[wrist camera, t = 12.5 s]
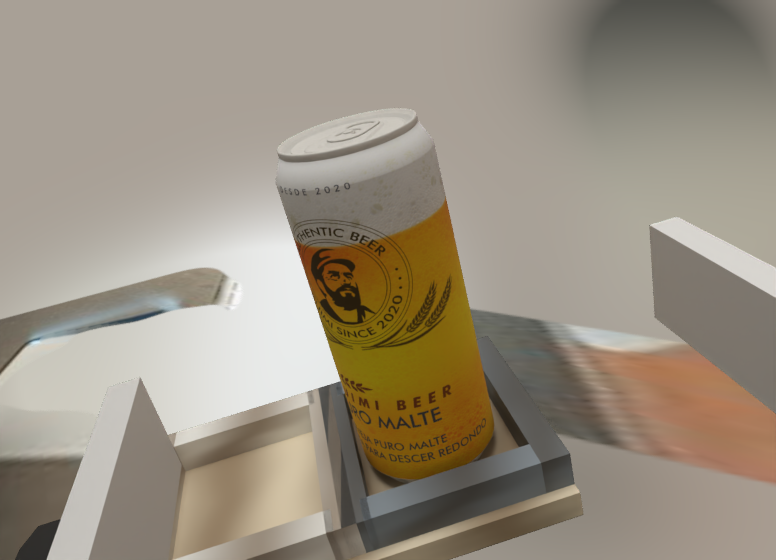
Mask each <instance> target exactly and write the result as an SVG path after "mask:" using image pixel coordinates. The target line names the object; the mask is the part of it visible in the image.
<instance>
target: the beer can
mask: <svg viewBox="0 0 776 560" xmlns="http://www.w3.org/2000/svg"><path fill="white" fill-rule="evenodd" d="M277 153H278V156H279V161H278V169H277V177H276V185H277V188H278V191H279V194H280V197H281V200H282V203H283V206H284V210H285V213H286V215H287V219H288V222H289V225H290V228H291V231H292V234H293V237H294V240H295V243H296V246H297V249H298V252H299V255H300V258H301V261H302V264H303V267H304V270H305V273H306V276H307V279H308V283H309V286H310V288H311V291H312V295H313V297H314V301H315V304H316V307H317V309H318V313H319V316H320V319H321V322H322V325H323V328H324V331H325V334H326V337H327V340H328V343H329V347H330V350H331V352H332V356H333V359H334V362H335V365H336V368H337V370H338V374H339V377H340V380H341V383H342V386H343V389H344V392H345V395H346V398H347V401H348V404H349V407H350V411H351V414H352V417H353V420H354V423H355V426H356V429H357V432H358V435H359V438H360V441H361V444H362V447H363V450H364V453H365V456H366V458H367V460H368V462H369V463H370V464H371V465H372V466H373V467H374V468H375V469H376V470H378V471H379V472H381V473H383V474H385V475H387V476H390V477H391V478H393V479H395V480H397V481H399V482H402V483H405V484H408V483H411V482H414V481H417V480H420V479H423V478H426V477H430V476H433V475H436V474H439V473H442V472H445V471H448V470H451V469H454V468H457V467H460V466H463V465H466V464H470V463H473V462H476V461H477V460H478V459H479V458H480V456H481V455H482V453H483V451H484V449H485V448H486V447H487V445H488V444H489V442H490V440H491V438H492V436H493V432H494V418H493V414H492V409H491V404H490V400H489V395H488V391H487V386H486V381H485V377H484V372H483V367H482V363H481V358H480V353H479V349H478V344H477V340H476V335H475V330H474V326H473V321H472V316H471V312H470V307H469V303H468V298H467V294H466V289H465V284H464V279H463V275H462V270H461V266H460V261H459V256H458V252H457V247H456V243H455V238H454V233H453V228H452V224H451V219H450V215H449V210H448V206H447V201H446V196H445V192H444V187H443V182H442V178H441V173H440V168H439V164H438V159H437V154H436V150H435V145H434V141H433V139H432V138H431V136H430V135H429V134H428V132H427V131H426V130H425V129H424V127H423V126H422V125H421V123H420V122H419V121H418V119H417V114H416V112H415V111H413V110H410V109H403V108H401V109H400V108H395V109H383V110H376V111H370V112H365V113H361V114H356V115H352V116H347V117H344V118H340V119H337V120H333V121H330V122H327V123H324V124H321V125H318V126H315V127H312V128H310V129H307V130H305V131H303V132H301V133H298V134H296V135H294V136H292V137H290V138H289V139H287V140H286V141H284V142H283V143H282V144H280V145H279V147H278V148H277Z"/></svg>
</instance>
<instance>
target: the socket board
mask: <svg viewBox="0 0 776 560" xmlns="http://www.w3.org/2000/svg"><path fill="white" fill-rule="evenodd" d="M476 340H477V344H478V349H479V353H480V358H481V363H482V367H483V372H484V377H485V381H486V386H487V391H488V395H489V400H490V404H491V409H492V414H493V418H494V432H493V436H492V438H491V440H490V442H489V444H488V445H487V447H486V448H485V449H484V451H483V453H482V455H481V456H480V458H479V459H478V460H477V461H476V462H473V463H470V464H466V465H463V466H460V467H457V468H454V469H451V470H448V471H445V472H442V473H439V474H436V475H433V476H430V477H426V478H423V479H420V480H417V481H414V482H411V483H408V484H405V483H402V482H399V481H397V480H395V479H393V478H391V477H390V476H387V475H385V474H383V473H381V472H379V471H378V470H376V469H375V468H374V467H373V466H372V465H371V464H370V463H369V462H368V460H367V458H366V456H365V453H364V450H363V447H362V444H361V441H360V438H359V435H358V432H357V429H356V426H355V423H354V420H353V417H352V414H351V411H350V407H349V404H348V401H347V398H346V395H345V392H344V389H343V386H342V383H341V381H340V382H337V383H334V384H331V385H327V386H324V387H321V388H318V389H314V390H311V391H308V392H305V393H302V394H299V395H295V396H292V397H289V398H286V399H282V400H279V401H276V402H273V403H269V404H266V405H263V406H260V407H257V408H253V409H250V410H247V411H244V412H240V413H237V414H234V415H231V416H228V417H224V418H221V419H218V420H215V421H212V422H208V423H205V424H202V425H199V426H195V427H192V428H189V429H186V430H183V431H179V432H176V433H173V434H170V435H168V437H169V439H170V441H171V443H172V445H173V447H174V450H175V452H176V454H177V456H178V458H179V460H180V462H181V464H182V466H181V473H180V480H179V487H178V494H177V501H176V508H175V515H174V522H173V529H172V536H171V543H170V550H169V557H168V560H450V559H453V558H456V557H459V556H462V555H465V554H468V553H471V552H474V551H477V550H480V549H483V548H486V547H489V546H492V545H495V544H498V543H500V542H503V541H507V540H510V539H512V538H515V537H519V536H521V535H524V534H527V533H530V532H533V531H536V530H539V529H542V528H545V527H548V526H551V525H554V524H557V523H560V522H563V521H566V520H569V519H572V518H575V517H578V516H581V515H583V508H582V502H581V495H580V492H579V490H578V489H577V487H576V486H575V484H574V478H573V471H572V464H571V458H570V453H569V451H568V450H567V449H566V447H565V446H564V444H563V443H562V441H561V440H560V439H559V437H558V436H557V434H556V433H555V431H554V430H553V429H552V427H551V426H550V424H549V423H548V421H547V420H546V419H545V417H544V416H543V414H542V413H541V411H540V410H539V408H538V407H537V406H536V404H535V403H534V401H533V400H532V398H531V397H530V396H529V394H528V393H527V391H526V390H525V388H524V387H523V386H522V384H521V383H520V381H519V380H518V378H517V377H516V376H515V374H514V373H513V371H512V370H511V368H510V367H509V366H508V364H507V363H506V361H505V360H504V358H503V357H502V356H501V354H500V353H499V351H498V350H497V348H496V347H495V345H494V344H493V343H492V341H491V340H490V338H489V337H488V336H485V337H482V338H479V339H476Z"/></svg>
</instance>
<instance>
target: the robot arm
mask: <svg viewBox="0 0 776 560" xmlns="http://www.w3.org/2000/svg"><path fill="white" fill-rule="evenodd" d="M649 226H650V244H651V260H652V278H653V295H654V311H655V318H657V320H659V321H660V322H661V323H662V324H664V325H665V326H666V327H668V328H669V329H670V330H671V331H673V332H674V333H675V334H676V335H678V336H679V337H680V338H682V339H683V340H684V341H685V342H686V343H688V344H689V345H690V346H691V347H693V348H694V349H695V350H696V351H698V352H699V353H700V354H701V355H703V356H704V357H705V358H706V359H708V360H709V361H710V362H712V363H713V364H714V365H715V366H717V367H718V368H719V369H720V370H722V371H723V372H724V373H725V374H727V375H728V376H729V377H730V378H732V379H733V380H734V381H735V382H737V383H738V384H739V385H740V386H742V387H743V388H744V389H745V390H747V391H748V392H749V393H751V394H752V395H753V396H754V397H756V398H757V399H758V400H759V401H761V402H762V403H763V404H764V405H766V406H767V407H768V408H769V409H771V410H772V411H773V412H774V413H776V268H775V267H773V266H771V265H769V264H767V263H765V262H763V261H761V260H760V259H757V258H756V257H754V256H752V255H750V254H748V253H746V252H744V251H742V250H740V249H738V248H736V247H735V246H733V245H731V244H729V243H727V242H725V241H723V240H721V239H719V238H717V237H715V236H713V235H711V234H709V233H708V232H705V231H704V230H701V229H700V228H698V227H696V226H694V225H692V224H690V223H688V222H686V221H684V220H682V219H681V218H679V217H675V218H671V219H668V220H665V221H661V222H658V223H655V224H651V225H649ZM181 466H182V464H181V462H180V460H179V458H178V456H177V454H176V452H175V450H174V447H173V445H172V443H171V441H170V439H169V437H168V435H167V433H166V431H165V429H164V426H163V424H162V422H161V420H160V418H159V416H158V414H157V412H156V410H155V407H154V405H153V403H152V401H151V399H150V397H149V395H148V393H147V391H146V388H145V386H144V384H143V382H142V380H141V378H137V379H133V380H129V381H126V382H123V383H119V384H116V385H113V386H110V387H108V389H107V392H106V395H105V398H104V401H103V404H102V406H101V409H100V412H99V414H98V417H97V420H96V423H95V426H94V428H93V431H92V434H91V437H90V440H89V442H88V445H87V448H86V451H85V454H84V456H83V459H82V462H81V465H80V468H79V470H78V473H77V476H76V479H75V481H74V484H73V487H72V490H71V493H70V495H69V498H68V501H67V504H66V507H65V509H64V512H63V515H62V518H61V519H60V520H56V521H53V522H50V523H47V524H44V525H40V526H38V527H37V529H36V530H35V531H34V532H33V533H32V535H31V536H30V537H29V538H28V540H27V541H26V542H25V543H24V545H23V546H22V547H21V548H20V550H19V552H18V555H17V557H16V559H15V560H168V557H169V550H170V543H171V536H172V529H173V522H174V515H175V508H176V501H177V494H178V487H179V480H180V473H181Z"/></svg>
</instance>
